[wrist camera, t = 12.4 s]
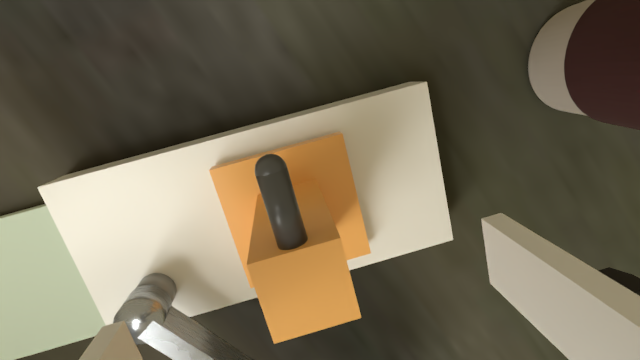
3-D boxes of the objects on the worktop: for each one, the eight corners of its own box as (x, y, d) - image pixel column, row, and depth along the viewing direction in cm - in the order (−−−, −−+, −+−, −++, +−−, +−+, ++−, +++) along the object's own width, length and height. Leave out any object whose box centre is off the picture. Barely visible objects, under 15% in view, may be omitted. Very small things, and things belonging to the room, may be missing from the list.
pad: (-43, 369, 27) (-55, 379, 26) (-122, 249, 24) (-138, 256, 23) (119, 321, 27) (113, 330, 27) (60, 199, 25) (51, 204, 24)
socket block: (130, 312, 27) (104, 353, 23) (65, 174, 24) (22, 193, 20) (435, 223, 29) (462, 247, 24) (409, 81, 25) (435, 81, 21)
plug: (254, 257, 27) (237, 403, 15) (213, 136, 25) (150, 190, 12) (356, 227, 28) (423, 346, 15) (326, 105, 25) (377, 128, 13)
